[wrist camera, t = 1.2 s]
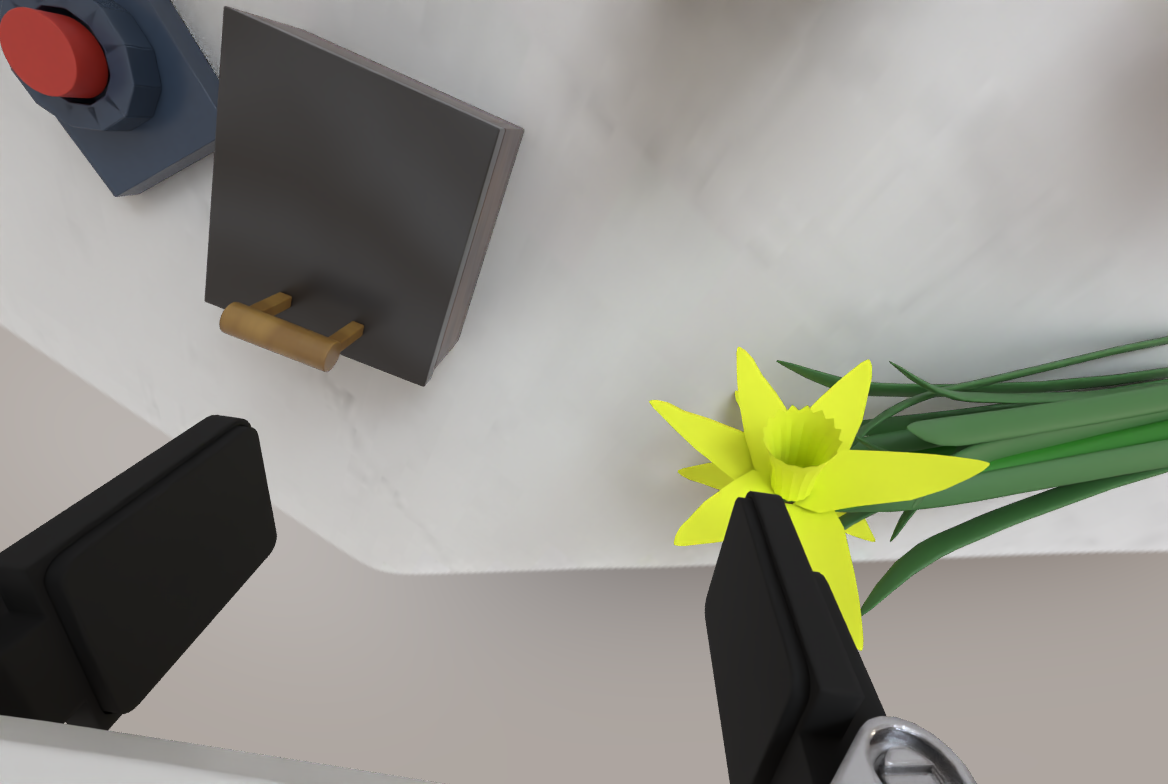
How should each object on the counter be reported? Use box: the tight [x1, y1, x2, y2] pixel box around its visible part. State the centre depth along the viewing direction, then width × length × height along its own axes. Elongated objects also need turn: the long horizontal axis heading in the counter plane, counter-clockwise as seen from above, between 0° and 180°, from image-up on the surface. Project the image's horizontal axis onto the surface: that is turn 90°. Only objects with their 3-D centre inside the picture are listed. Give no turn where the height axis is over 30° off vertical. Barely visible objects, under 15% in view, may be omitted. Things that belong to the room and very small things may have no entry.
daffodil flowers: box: [649, 336, 1168, 651], centre depth 28 cm, size 17×15×35 cm
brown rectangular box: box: [245, 12, 524, 369], centre depth 29 cm, size 14×13×5 cm
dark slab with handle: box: [205, 6, 505, 387], centre depth 25 cm, size 14×13×6 cm
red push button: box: [0, 7, 108, 98], centre depth 26 cm, size 4×4×2 cm
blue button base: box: [0, 0, 219, 197], centre depth 28 cm, size 11×9×4 cm
